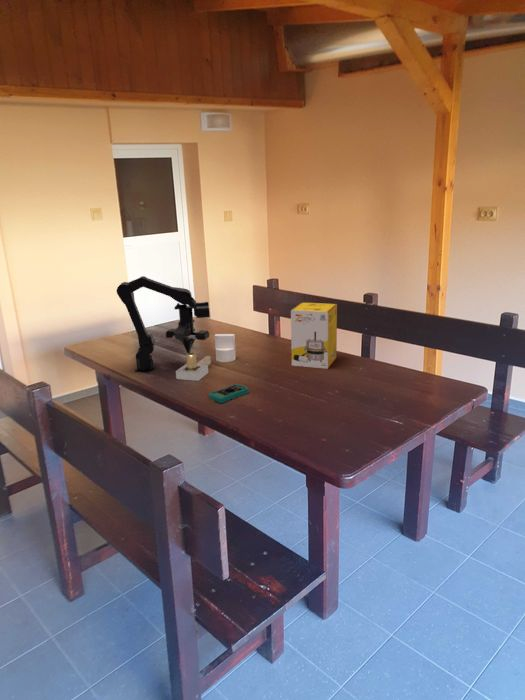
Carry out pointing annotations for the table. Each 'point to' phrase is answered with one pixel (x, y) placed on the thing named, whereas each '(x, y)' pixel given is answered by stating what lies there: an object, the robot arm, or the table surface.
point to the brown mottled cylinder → (191, 361)
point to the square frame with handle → (194, 375)
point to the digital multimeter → (228, 393)
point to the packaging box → (314, 335)
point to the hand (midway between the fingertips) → (188, 352)
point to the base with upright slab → (225, 347)
